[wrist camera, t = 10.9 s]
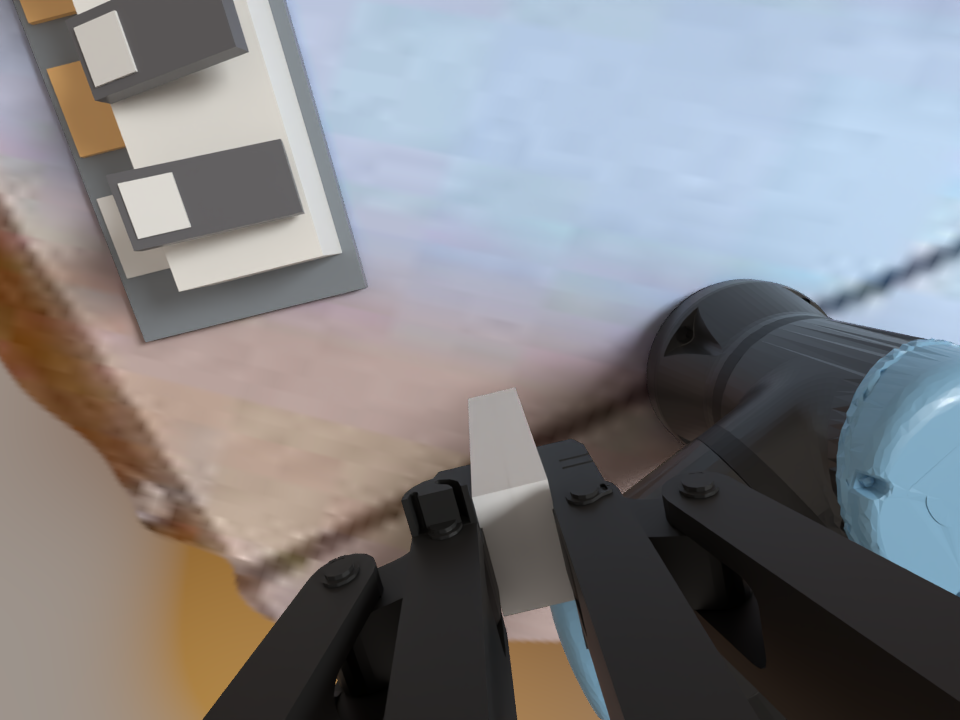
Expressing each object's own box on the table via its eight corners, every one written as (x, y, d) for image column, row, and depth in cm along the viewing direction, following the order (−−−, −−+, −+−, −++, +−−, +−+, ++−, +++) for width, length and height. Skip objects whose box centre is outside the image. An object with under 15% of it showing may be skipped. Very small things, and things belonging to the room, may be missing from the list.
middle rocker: (222, -34, 30) (206, -45, 29) (249, 52, 31) (234, 45, 30) (83, 26, 33) (62, 19, 32) (111, 104, 34) (92, 100, 33)
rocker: (283, 142, 34) (280, 138, 33) (304, 213, 35) (302, 212, 34) (114, 178, 33) (104, 174, 31) (141, 251, 34) (133, 251, 32)
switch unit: (224, -214, 37) (157, -340, 29) (367, 286, 44) (347, 298, 36) (-35, -145, 37) (-172, -250, 29) (152, 339, 44) (84, 362, 36)
